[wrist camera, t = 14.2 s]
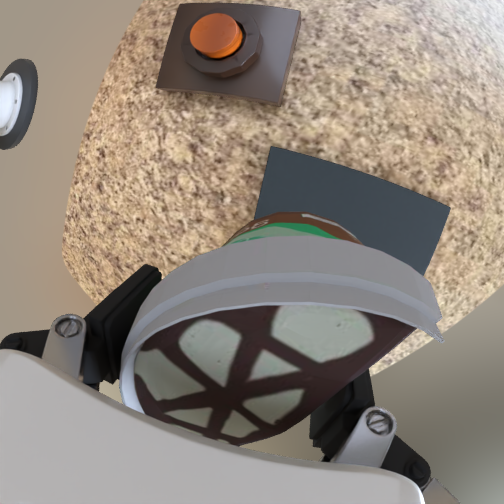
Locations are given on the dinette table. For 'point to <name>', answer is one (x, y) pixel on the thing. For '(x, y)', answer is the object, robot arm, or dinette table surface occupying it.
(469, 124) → the dinette table surface
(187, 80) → the button box
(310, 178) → the mat
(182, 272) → the food container
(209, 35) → the button
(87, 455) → the robot arm
